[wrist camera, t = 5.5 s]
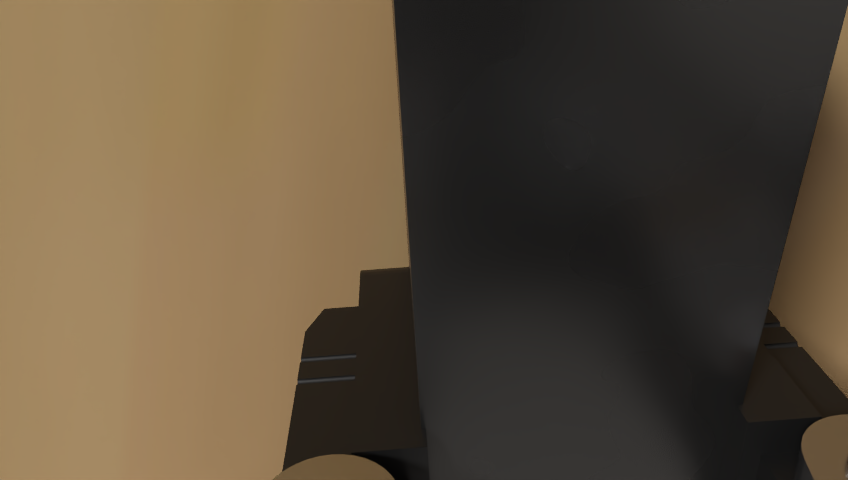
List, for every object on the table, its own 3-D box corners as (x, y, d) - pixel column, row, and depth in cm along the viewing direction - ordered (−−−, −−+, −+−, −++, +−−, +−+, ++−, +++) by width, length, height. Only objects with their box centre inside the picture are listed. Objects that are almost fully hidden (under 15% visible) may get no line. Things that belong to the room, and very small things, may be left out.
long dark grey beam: (835, -232, 8) (1207, -244, 4) (668, 539, 14) (758, 772, 11) (206, -199, 7) (63, -185, 4) (338, 565, 14) (327, 809, 11)
